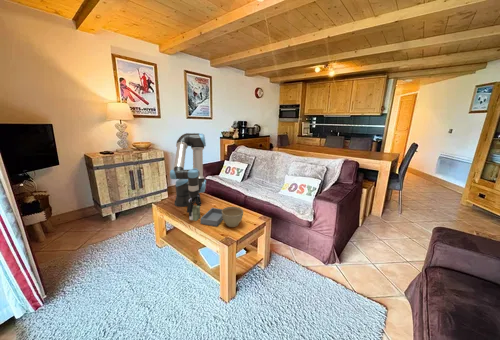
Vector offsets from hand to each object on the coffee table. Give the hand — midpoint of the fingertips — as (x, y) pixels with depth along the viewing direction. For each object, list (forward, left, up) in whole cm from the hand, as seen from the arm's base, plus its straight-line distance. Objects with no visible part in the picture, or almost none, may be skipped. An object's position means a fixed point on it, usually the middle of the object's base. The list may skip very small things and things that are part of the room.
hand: (194, 216), depth 159 cm
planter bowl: (-2, +31, -2) cm, 31 cm away
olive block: (0, 0, -2) cm, 2 cm away
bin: (-4, +15, -2) cm, 16 cm away
